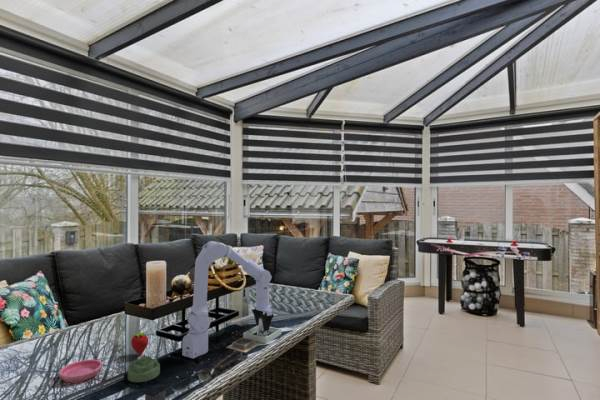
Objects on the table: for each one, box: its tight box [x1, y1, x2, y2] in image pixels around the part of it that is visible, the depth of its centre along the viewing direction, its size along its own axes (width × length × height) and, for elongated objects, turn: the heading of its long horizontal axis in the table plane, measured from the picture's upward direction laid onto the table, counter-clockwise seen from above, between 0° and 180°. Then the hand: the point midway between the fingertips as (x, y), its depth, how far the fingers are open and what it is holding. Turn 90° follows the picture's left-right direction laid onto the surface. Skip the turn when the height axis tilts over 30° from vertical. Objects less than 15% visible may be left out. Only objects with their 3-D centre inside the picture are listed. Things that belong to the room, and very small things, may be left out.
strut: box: [257, 317, 268, 337], centre depth 147 cm, size 4×4×8 cm
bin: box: [242, 325, 282, 344], centre depth 147 cm, size 12×12×3 cm
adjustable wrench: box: [226, 313, 265, 326], centre depth 174 cm, size 25×6×2 cm, turn 132°
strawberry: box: [130, 329, 149, 356], centre depth 130 cm, size 6×8×10 cm
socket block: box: [225, 336, 262, 353], centre depth 137 cm, size 10×10×2 cm
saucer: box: [58, 359, 103, 384], centre depth 114 cm, size 12×12×3 cm
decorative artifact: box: [127, 354, 161, 383], centre depth 115 cm, size 10×7×10 cm
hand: (262, 327), depth 148 cm, fingers open, 7 cm apart
